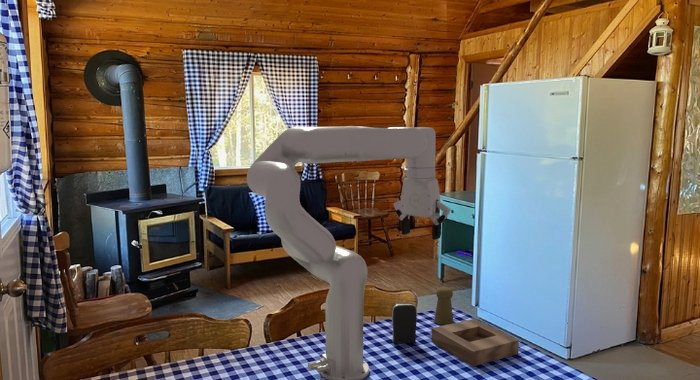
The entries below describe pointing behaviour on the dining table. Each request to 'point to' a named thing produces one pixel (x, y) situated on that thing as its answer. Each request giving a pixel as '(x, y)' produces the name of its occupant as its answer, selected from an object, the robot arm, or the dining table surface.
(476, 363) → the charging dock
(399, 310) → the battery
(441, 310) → the cork
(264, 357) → the dining table surface
